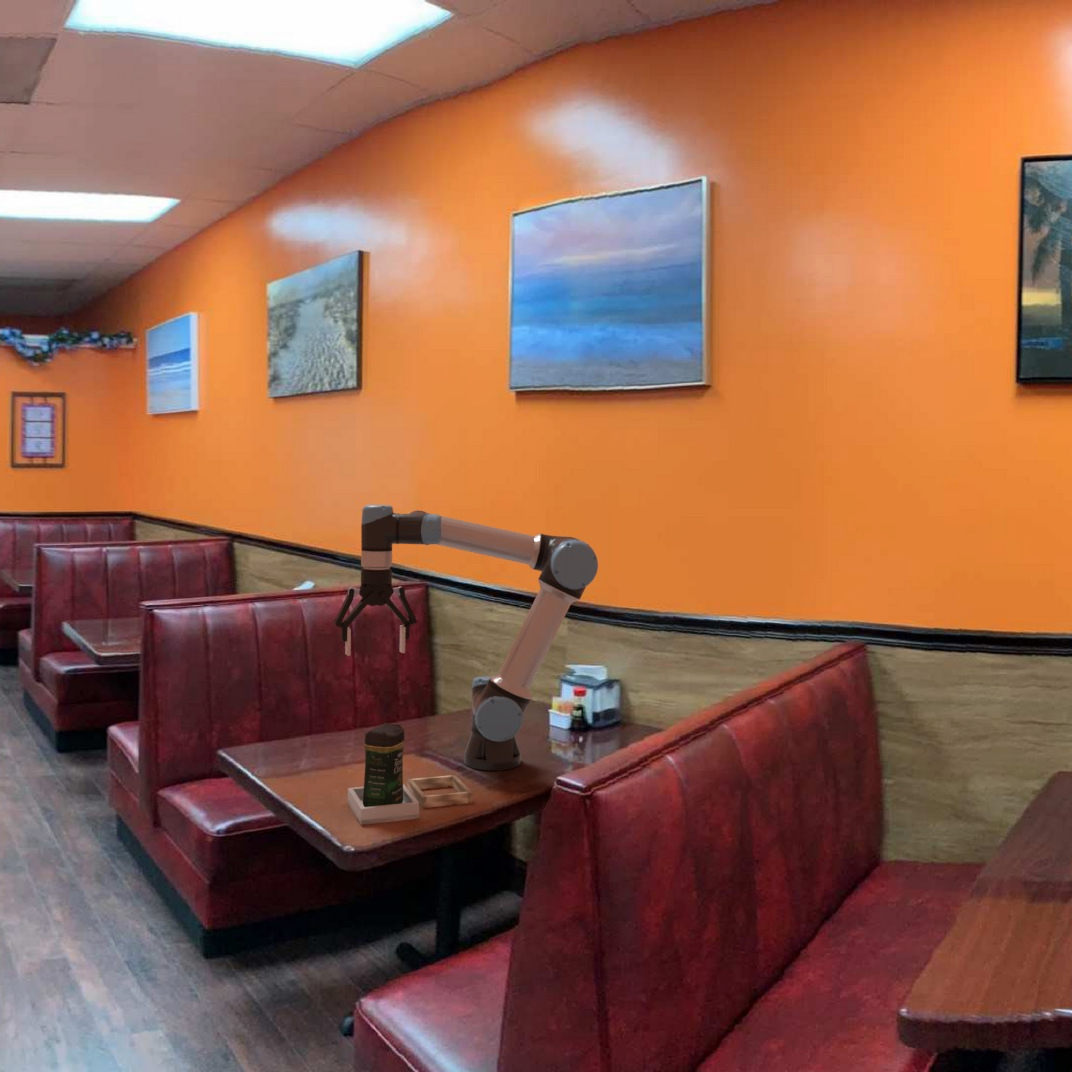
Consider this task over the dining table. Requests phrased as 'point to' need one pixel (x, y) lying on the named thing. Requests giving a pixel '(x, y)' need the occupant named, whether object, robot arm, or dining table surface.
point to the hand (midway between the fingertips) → (375, 653)
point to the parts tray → (383, 808)
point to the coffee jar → (383, 765)
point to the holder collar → (440, 799)
